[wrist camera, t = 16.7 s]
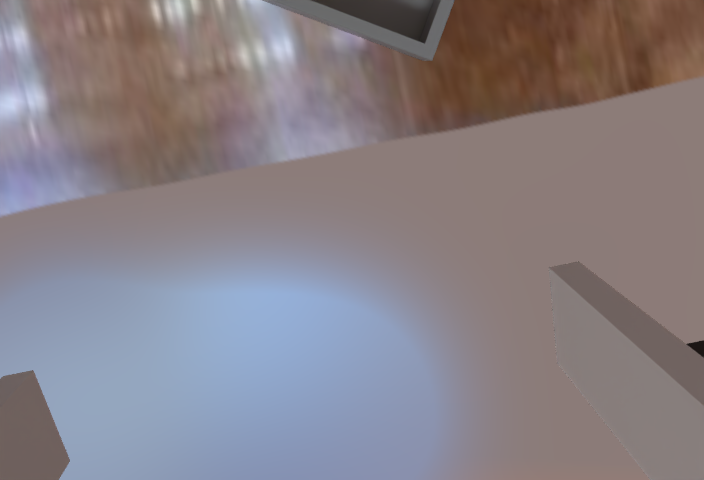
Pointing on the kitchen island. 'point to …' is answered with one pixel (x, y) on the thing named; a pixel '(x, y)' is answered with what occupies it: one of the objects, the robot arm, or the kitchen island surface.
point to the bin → (382, 21)
